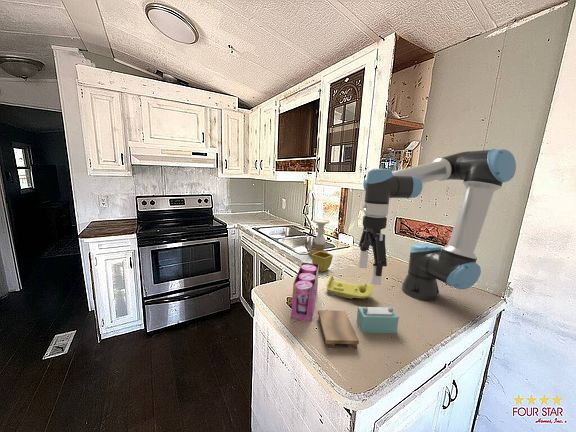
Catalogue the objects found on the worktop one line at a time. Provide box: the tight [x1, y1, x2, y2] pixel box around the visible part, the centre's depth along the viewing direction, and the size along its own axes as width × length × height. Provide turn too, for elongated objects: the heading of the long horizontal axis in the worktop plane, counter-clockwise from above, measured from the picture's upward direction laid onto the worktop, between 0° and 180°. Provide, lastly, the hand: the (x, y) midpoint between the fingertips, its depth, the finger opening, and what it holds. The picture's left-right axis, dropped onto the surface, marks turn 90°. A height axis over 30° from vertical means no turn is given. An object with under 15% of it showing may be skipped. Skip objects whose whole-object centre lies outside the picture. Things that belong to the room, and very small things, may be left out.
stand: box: [317, 309, 360, 350], centre depth 80 cm, size 10×16×3 cm, turn 2°
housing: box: [356, 306, 399, 334], centre depth 83 cm, size 12×6×7 cm, turn 92°
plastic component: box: [326, 275, 375, 300], centre depth 106 cm, size 20×7×10 cm
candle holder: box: [307, 218, 330, 259], centre depth 151 cm, size 11×11×24 cm
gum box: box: [290, 262, 319, 323], centre depth 95 cm, size 24×8×14 cm, turn 168°
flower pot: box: [311, 251, 334, 273], centre depth 132 cm, size 9×9×9 cm
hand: (369, 275), depth 83 cm, fingers open, 13 cm apart
